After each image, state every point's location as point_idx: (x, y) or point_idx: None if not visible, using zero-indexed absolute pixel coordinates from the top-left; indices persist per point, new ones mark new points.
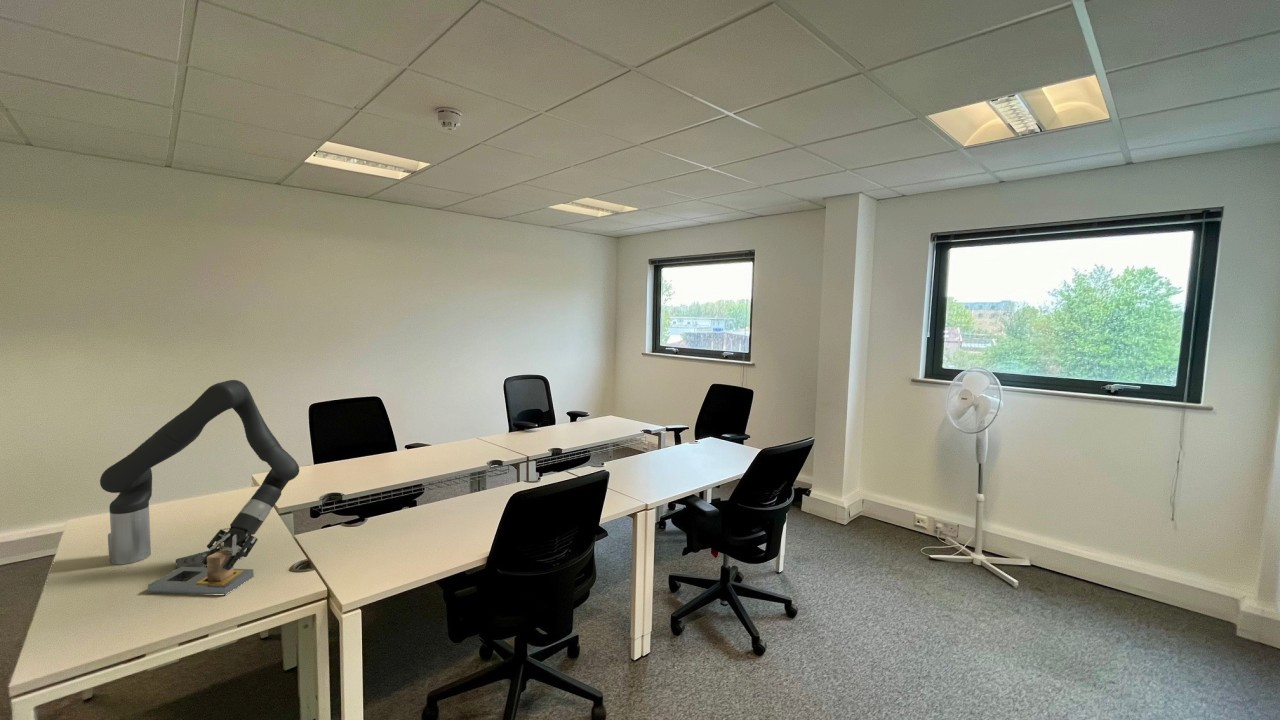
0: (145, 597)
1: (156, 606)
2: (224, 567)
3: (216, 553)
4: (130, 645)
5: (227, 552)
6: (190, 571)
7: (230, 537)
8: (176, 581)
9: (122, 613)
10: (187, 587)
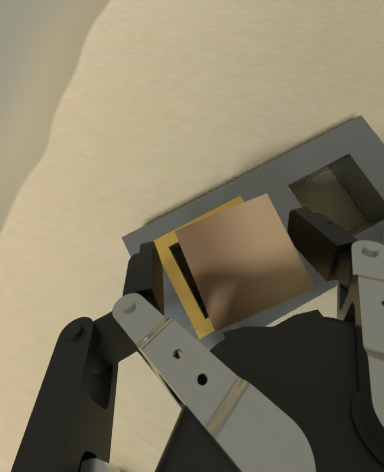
0: (315, 122)
1: (233, 121)
2: (142, 244)
3: (274, 249)
4: (88, 43)
5: (229, 300)
6: (370, 226)
7: (362, 411)
8: (314, 169)
9: (263, 70)
10: (242, 177)
